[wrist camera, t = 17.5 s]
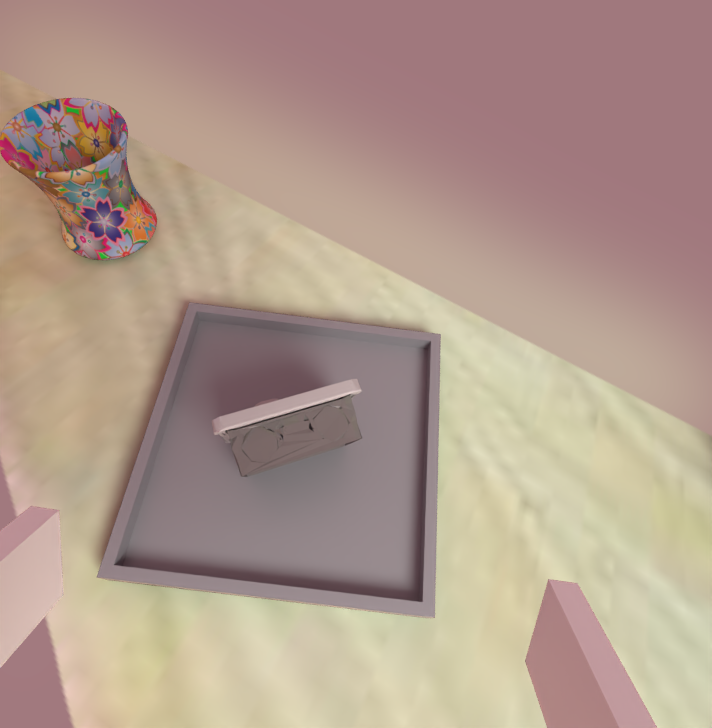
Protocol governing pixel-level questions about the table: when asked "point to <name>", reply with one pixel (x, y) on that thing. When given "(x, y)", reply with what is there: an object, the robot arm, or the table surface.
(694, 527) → the table surface
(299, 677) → the table surface
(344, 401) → the electrical switch
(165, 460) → the grey square tray
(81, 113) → the mug
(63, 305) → the table surface
